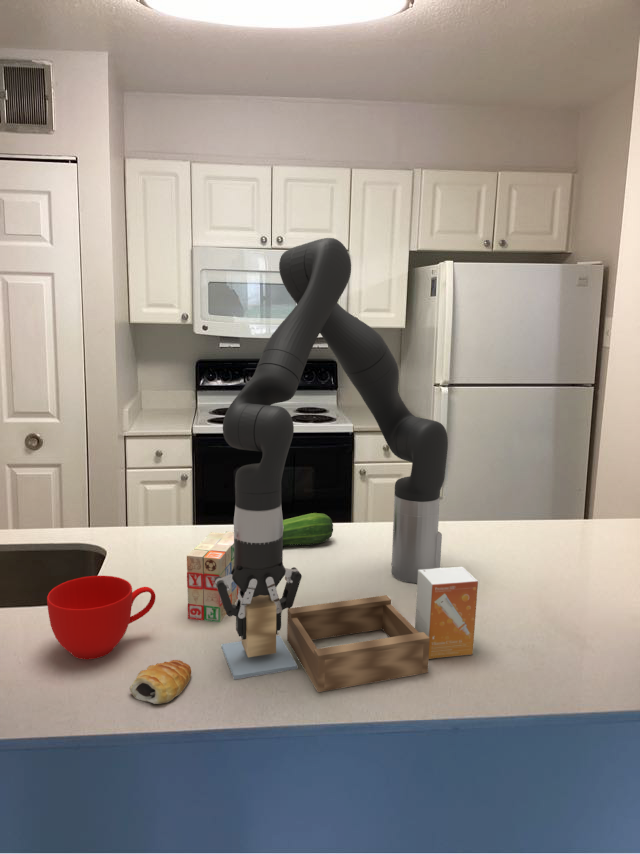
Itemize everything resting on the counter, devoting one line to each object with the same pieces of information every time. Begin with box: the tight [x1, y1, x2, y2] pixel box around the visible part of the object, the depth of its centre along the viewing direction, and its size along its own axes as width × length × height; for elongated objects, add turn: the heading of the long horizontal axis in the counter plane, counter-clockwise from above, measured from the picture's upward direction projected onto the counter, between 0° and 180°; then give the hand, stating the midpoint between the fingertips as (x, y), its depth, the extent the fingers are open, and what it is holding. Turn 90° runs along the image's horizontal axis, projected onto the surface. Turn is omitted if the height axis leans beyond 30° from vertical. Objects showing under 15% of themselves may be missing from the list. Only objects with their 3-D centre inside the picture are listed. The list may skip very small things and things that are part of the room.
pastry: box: [129, 659, 192, 705], centre depth 101 cm, size 9×7×4 cm
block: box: [241, 595, 277, 657], centre depth 109 cm, size 4×4×8 cm
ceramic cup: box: [46, 575, 156, 660], centre depth 112 cm, size 13×17×10 cm
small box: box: [414, 566, 479, 660], centre depth 113 cm, size 8×6×13 cm
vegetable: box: [283, 512, 334, 547], centre depth 159 cm, size 7×7×20 cm
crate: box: [286, 594, 430, 693], centre depth 110 cm, size 18×16×6 cm
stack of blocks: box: [186, 531, 240, 623], centre depth 131 cm, size 21×6×12 cm, turn 168°
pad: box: [220, 635, 298, 680], centre depth 110 cm, size 10×10×1 cm
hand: (258, 634), depth 109 cm, fingers closed on block, 4 cm apart
